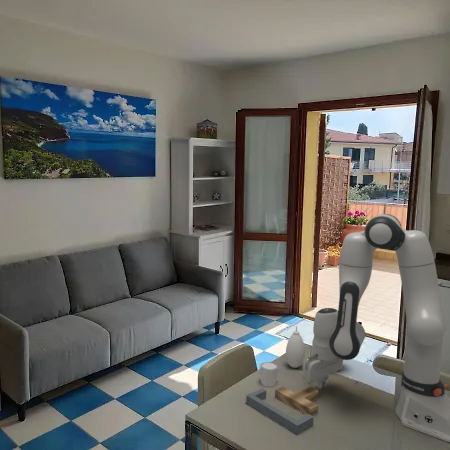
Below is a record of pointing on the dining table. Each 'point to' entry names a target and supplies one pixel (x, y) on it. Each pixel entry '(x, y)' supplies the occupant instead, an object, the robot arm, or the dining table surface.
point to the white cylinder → (268, 374)
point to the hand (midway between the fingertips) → (321, 386)
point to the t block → (299, 399)
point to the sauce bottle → (295, 350)
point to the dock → (278, 413)
